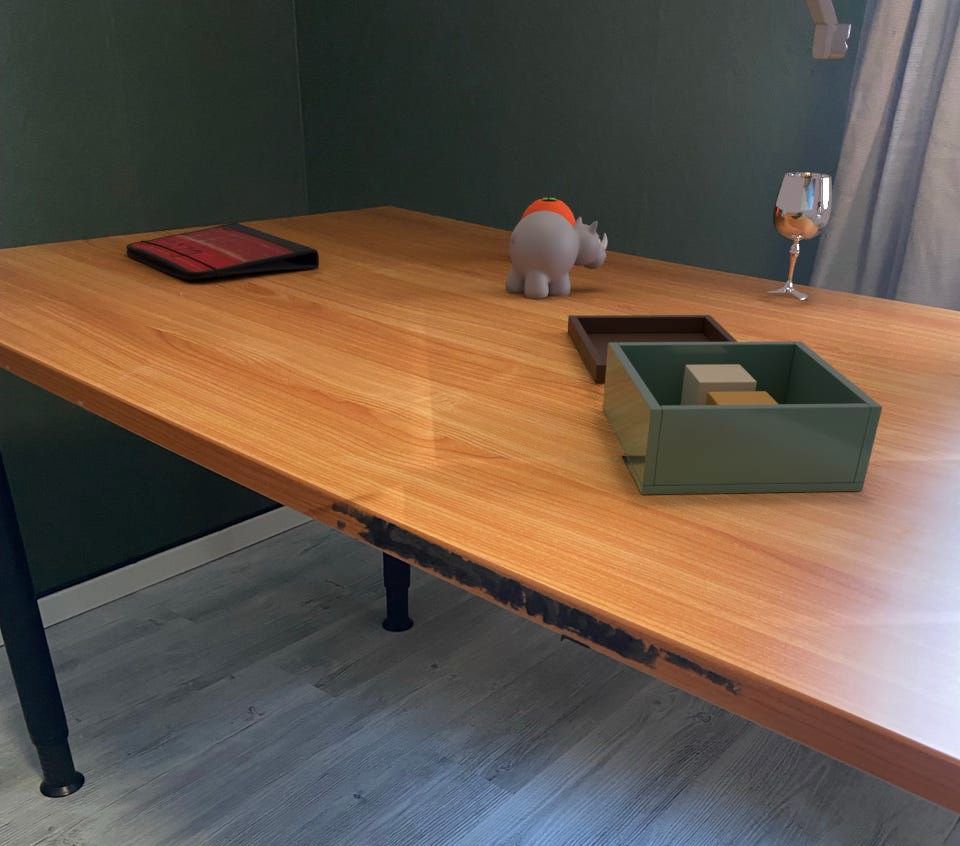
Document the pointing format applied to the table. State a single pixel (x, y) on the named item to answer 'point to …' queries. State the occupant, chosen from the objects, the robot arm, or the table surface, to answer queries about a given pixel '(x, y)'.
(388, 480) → the table surface
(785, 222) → the wineglass
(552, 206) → the clementine
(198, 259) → the binder
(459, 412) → the table surface
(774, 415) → the green storage bin
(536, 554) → the table surface
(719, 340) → the shallow brown tray
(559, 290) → the chubby cartoon animal
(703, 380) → the cream block
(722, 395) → the mustard block
